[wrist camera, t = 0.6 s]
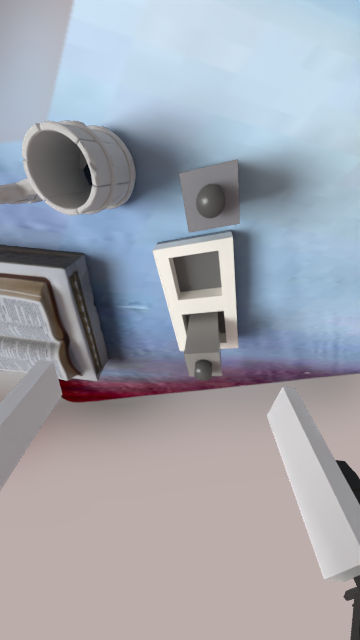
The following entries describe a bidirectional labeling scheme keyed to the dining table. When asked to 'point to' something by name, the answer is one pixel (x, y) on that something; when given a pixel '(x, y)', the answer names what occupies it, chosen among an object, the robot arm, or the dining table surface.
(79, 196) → the mug
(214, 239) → the strip
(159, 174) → the dining table surface
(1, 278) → the bible
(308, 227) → the dining table surface
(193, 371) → the twin plug
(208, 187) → the plug
